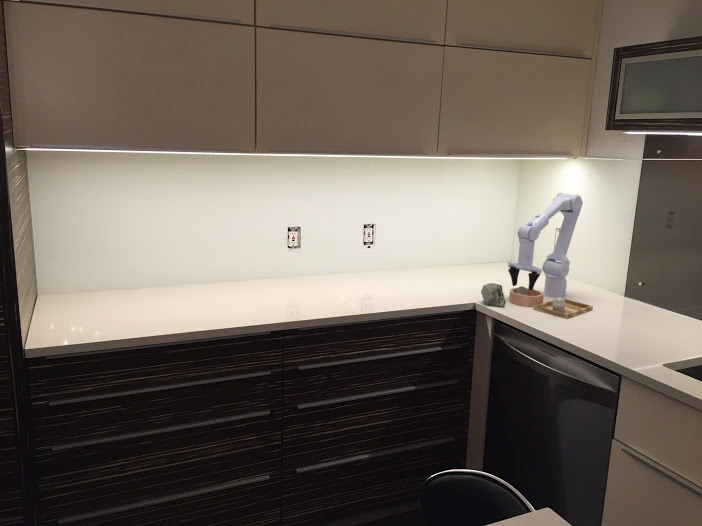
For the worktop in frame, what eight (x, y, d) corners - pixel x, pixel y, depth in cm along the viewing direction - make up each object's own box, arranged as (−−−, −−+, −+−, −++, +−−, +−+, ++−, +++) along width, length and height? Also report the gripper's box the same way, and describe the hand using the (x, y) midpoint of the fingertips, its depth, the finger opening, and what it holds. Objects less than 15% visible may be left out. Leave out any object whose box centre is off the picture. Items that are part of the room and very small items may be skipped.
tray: (560, 302, 250) (560, 297, 250) (592, 311, 240) (593, 306, 240) (533, 311, 237) (534, 305, 237) (566, 320, 227) (567, 314, 227)
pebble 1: (520, 298, 252) (521, 284, 251) (528, 300, 249) (530, 287, 247) (513, 299, 250) (514, 285, 249) (521, 302, 246) (522, 288, 245)
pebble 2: (555, 309, 239) (557, 295, 238) (566, 312, 236) (567, 297, 234) (549, 311, 236) (551, 296, 235) (560, 313, 233) (562, 299, 232)
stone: (508, 281, 241) (482, 278, 244) (505, 301, 236) (479, 298, 238) (506, 294, 249) (481, 291, 251) (503, 315, 243) (478, 311, 245)
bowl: (520, 297, 257) (521, 286, 256) (548, 304, 247) (550, 293, 246) (502, 302, 248) (503, 290, 247) (531, 310, 238) (532, 298, 237)
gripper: (504, 252, 247) (501, 285, 250) (536, 259, 237) (532, 293, 240) (514, 251, 252) (511, 282, 255) (546, 257, 241) (542, 290, 244)
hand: (522, 287), depth 248 cm, fingers open, 7 cm apart
